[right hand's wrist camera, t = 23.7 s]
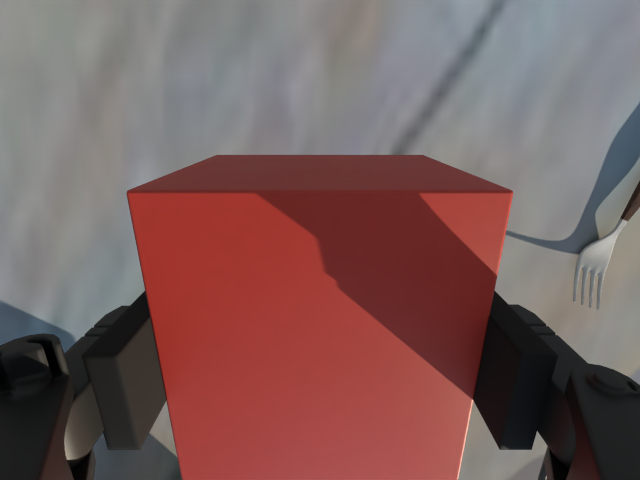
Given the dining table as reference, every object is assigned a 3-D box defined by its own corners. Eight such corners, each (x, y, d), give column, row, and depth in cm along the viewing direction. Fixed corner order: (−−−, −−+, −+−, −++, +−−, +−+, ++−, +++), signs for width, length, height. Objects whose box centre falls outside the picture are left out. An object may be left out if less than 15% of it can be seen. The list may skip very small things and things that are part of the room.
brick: (405, 340, 17) (458, 481, 11) (234, 340, 17) (181, 481, 11) (423, 155, 14) (515, 190, 8) (215, 154, 14) (124, 190, 8)
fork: (715, 101, 23) (750, 100, 22) (582, 298, 29) (601, 311, 27) (683, 87, 23) (716, 85, 21) (554, 289, 28) (571, 302, 26)
